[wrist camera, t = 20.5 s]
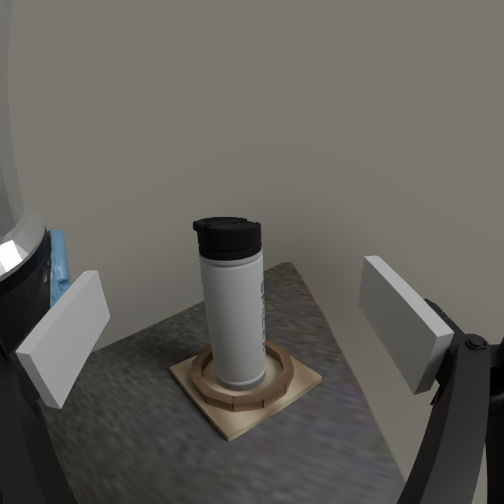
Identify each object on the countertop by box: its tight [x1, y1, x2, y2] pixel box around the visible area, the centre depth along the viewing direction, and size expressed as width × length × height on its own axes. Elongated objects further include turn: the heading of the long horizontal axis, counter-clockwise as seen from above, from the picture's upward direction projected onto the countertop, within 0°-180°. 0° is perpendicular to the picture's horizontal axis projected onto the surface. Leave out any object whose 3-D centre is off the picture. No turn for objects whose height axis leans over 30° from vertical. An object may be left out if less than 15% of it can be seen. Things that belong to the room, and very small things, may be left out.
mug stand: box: [169, 339, 322, 441], centre depth 35 cm, size 14×14×2 cm
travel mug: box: [193, 217, 266, 391], centre depth 32 cm, size 6×7×20 cm
